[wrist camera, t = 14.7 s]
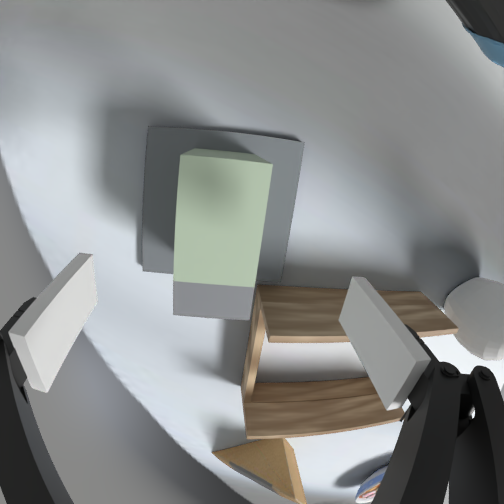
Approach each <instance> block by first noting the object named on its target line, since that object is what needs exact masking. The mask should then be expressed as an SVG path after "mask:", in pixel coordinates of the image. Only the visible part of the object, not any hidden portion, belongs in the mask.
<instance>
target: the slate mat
mask: <svg viewBox="0 0 504 504" xmlns="http://www.w3.org/2000/svg"><path fill="white" fill-rule="evenodd" d="M304 143H305V142H299V141H293V140H287V139H281V138H274V137H267V136H260V135H253V134H245V133H236V132H227V131H217V130H205V129H192V128H176V127H152V126H148V135H147V146H146V158H145V173H144V191H143V223H142V261H143V271H146V272H157V273H167V274H174V242H175V221H176V204H177V190H178V177H179V166H180V155H181V154H183V153H186V152H188V151H190V150H192V149H194V148H198V149H210V150H221V151H231V152H240V153H249V154H255V155H257V156H259V157H261V158H262V159H264V160H266V161H268V162H270V163H272V164H273V167H272V174H271V181H270V188H269V195H268V201H267V208H266V215H265V222H264V228H263V235H262V242H261V248H260V255H259V262H258V268H257V275H256V281H270V282H281V277H282V272H283V267H284V261H285V256H286V251H287V245H288V240H289V234H290V228H291V223H292V217H293V211H294V205H295V199H296V193H297V187H298V181H299V175H300V169H301V162H302V156H303V149H304Z"/></svg>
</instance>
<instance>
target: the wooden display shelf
mask: <svg viewBox="0 0 504 504" xmlns="http://www.w3.org/2000/svg"><path fill="white" fill-rule="evenodd" d="M376 291H377V292H378V293H379V295H380V296H381V297H382V298H383V299H384V301H385V302H386V303H387V304H388V305H389V307H390V308H391V309H392V310H393V311H394V313H395V314H396V315H397V316H398V318H399V319H400V320H401V321H402V322H403V324H406V325H408V326H409V327H411V328H412V329H413V330H415V332H416V333H417V334H418V335H419V337H420V338H421V337H429V336H439V335H447V334H455V333H457V331H458V329H459V328H458V327H457V326H456V325H455V324H454V323H453V322H452V321H451V320H450V319H449V318H448V317H447V316H446V315H445V314H444V313H443V312H442V311H441V310H440V309H439V308H438V307H437V306H436V305H435V304H434V303H432V302H431V301H430V300H429V299H428V298H427V297H426V296H425V295H424V294H423V293H422V292H416V291H380V290H376ZM347 292H348V289H330V288H310V287H292V286H275V285H260V284H257V289H256V296H255V302H254V308H253V315H252V321H251V327H250V333H249V340H248V346H247V352H246V358H245V364H244V370H243V376H242V382H241V393H242V403H243V412H244V421H245V430H246V438H247V439H274V438H291V437H303V436H313V435H322V434H330V433H338V432H344V431H351V430H357V429H362V428H368V427H373V426H378V425H383V424H387V423H392V422H396V421H400V419H401V417H402V416H403V415H404V413H405V412H404V411H403V409H402V407H401V408H398V409H393V410H387V411H386V409H385V407H384V405H383V403H382V401H381V399H380V397H379V395H378V393H377V391H376V389H375V387H374V385H373V383H372V381H371V379H370V378H369V377H364V378H354V379H343V380H330V381H313V382H283V383H255V379H256V374H257V369H258V364H259V360H260V355H261V350H262V345H263V340H264V334H265V329H266V333H267V338H268V342H271V343H333V342H350V340H349V338H348V336H347V335H346V333H345V331H344V329H343V327H342V326H341V324H340V322H339V317H340V314H341V311H342V308H343V305H344V301H345V298H346V295H347ZM404 419H405V418H404ZM404 419H403V420H404Z"/></svg>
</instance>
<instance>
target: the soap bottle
mask: <svg viewBox="0 0 504 504" xmlns="http://www.w3.org/2000/svg"><path fill="white" fill-rule="evenodd" d="M444 310H445V315H446V316H447V317H448V318H449V319H450V320H451V321H452V322H453V323H454V324H455V325H456V326H457V327H458V328H459V329H458V331H457V333H455V334H454V336H455V337H456V339H457V340H458V342H459V343H460V344H461V345H462V346H463V347H465V348H466V349H467V350H468V351H469V352H470V353H471V354H473V355H475V356H477V357H479V358H481V359H483V360H486V361H490V360H501V359H504V284H502V283H500V282H497V281H493V280H489V279H485V278H479V277H476V278H473V279H470V280H468V281H466V282H465V283H463V284H461V285H460V286H458V287H457V288H455V289H454V290H453V291H452V292H451V293H450V294H449V295H448V297H447V298H446V301H445V304H444Z"/></svg>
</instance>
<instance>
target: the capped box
mask: <svg viewBox="0 0 504 504" xmlns="http://www.w3.org/2000/svg"><path fill="white" fill-rule="evenodd" d="M272 167H273V164H272V163H270V162H268V161H266V160H264V159H262V158H261V157H259V156H257V155H255V154H249V153H240V152H231V151H221V150H210V149H198V148H194V149H192V150H190V151H188V152H186V153H183V154H181V155H180V166H179V177H178V190H177V204H176V221H175V242H174V275H173V315H180V316H191V317H204V318H218V319H234V320H250V314H251V307H252V301H253V294H254V288H255V281H256V275H257V268H258V262H259V255H260V248H261V242H262V235H263V228H264V222H265V215H266V208H267V201H268V195H269V188H270V181H271V174H272Z"/></svg>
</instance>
